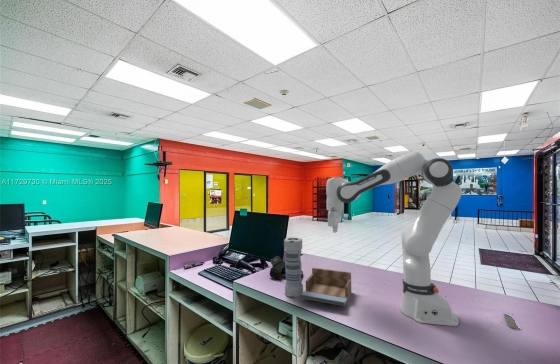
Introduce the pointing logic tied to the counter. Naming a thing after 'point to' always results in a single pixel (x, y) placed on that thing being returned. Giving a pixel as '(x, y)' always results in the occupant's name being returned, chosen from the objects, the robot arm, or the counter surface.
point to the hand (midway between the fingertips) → (335, 232)
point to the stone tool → (510, 322)
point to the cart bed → (329, 283)
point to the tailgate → (323, 298)
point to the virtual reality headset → (279, 268)
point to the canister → (293, 266)
